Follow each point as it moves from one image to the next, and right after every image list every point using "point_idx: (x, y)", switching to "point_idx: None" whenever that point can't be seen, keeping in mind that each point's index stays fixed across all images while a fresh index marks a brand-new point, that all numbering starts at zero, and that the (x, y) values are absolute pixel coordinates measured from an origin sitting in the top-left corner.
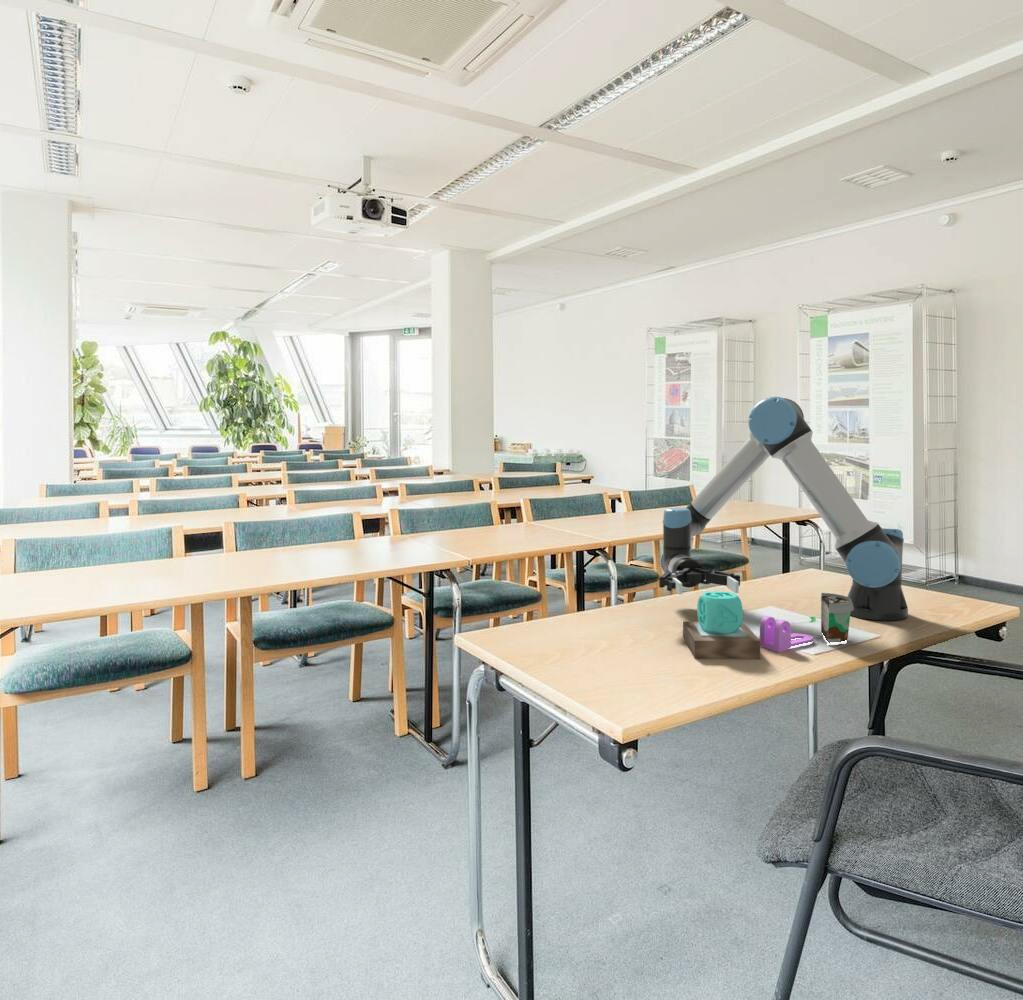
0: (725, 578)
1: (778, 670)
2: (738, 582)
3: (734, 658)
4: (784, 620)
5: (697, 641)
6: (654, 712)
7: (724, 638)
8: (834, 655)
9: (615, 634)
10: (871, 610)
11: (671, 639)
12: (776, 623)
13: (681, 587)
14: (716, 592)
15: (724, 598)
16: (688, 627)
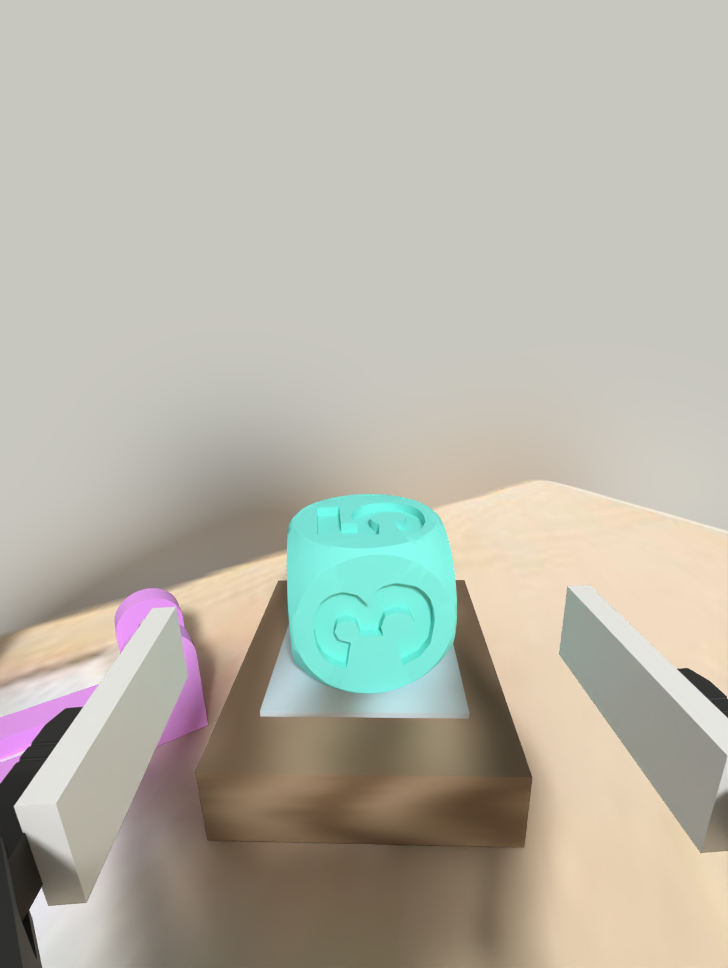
0: (17, 914)
1: (281, 577)
2: (154, 611)
3: None
4: (136, 596)
5: (456, 582)
6: (513, 494)
7: None
8: (53, 648)
9: None
10: None
11: (580, 821)
12: (171, 600)
13: (567, 612)
14: (368, 535)
15: (362, 495)
16: (491, 683)
